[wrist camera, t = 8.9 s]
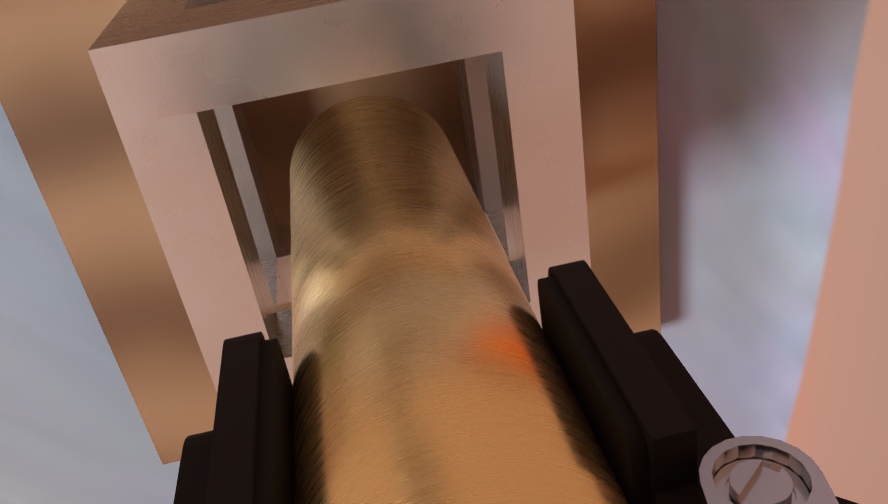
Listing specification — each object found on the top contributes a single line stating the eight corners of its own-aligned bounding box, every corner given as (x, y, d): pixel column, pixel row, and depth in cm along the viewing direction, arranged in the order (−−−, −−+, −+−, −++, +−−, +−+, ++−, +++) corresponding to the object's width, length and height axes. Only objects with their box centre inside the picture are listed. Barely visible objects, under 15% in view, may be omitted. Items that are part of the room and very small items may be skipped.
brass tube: (268, 112, 18) (229, 829, 5) (443, 77, 19) (798, 674, 6) (309, 264, 20) (353, 1048, 7) (466, 230, 21) (769, 926, 8)
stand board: (-154, -295, 18) (-180, -301, 17) (629, -417, 19) (649, -430, 18) (167, 440, 29) (163, 464, 28) (647, 328, 30) (660, 347, 29)
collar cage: (143, -21, 20) (87, 50, 14) (489, -86, 21) (570, -43, 15) (241, 277, 25) (228, 424, 19) (523, 216, 26) (595, 339, 20)
